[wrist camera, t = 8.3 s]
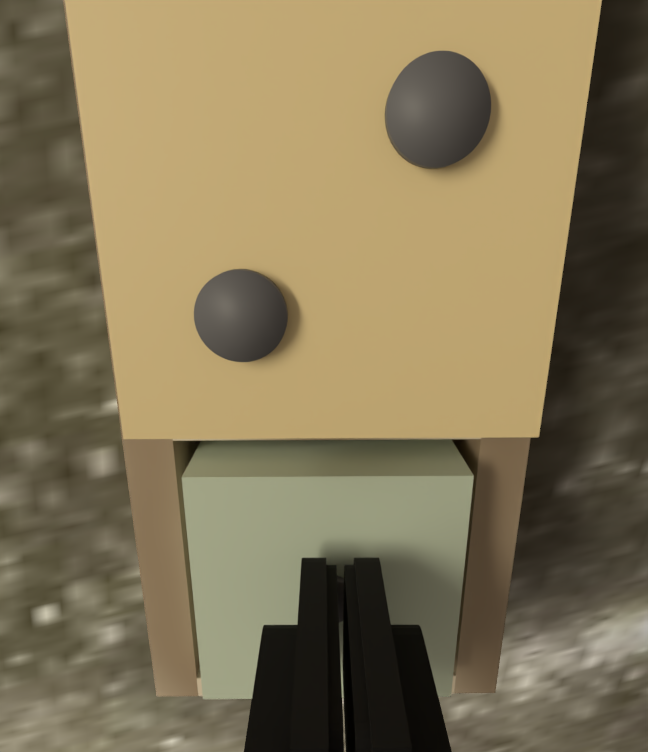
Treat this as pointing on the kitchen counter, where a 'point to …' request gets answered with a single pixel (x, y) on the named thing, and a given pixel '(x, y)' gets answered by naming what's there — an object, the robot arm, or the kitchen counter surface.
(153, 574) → the tray
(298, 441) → the tile one sage
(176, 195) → the tile two ochre
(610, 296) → the kitchen counter surface
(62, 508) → the kitchen counter surface
